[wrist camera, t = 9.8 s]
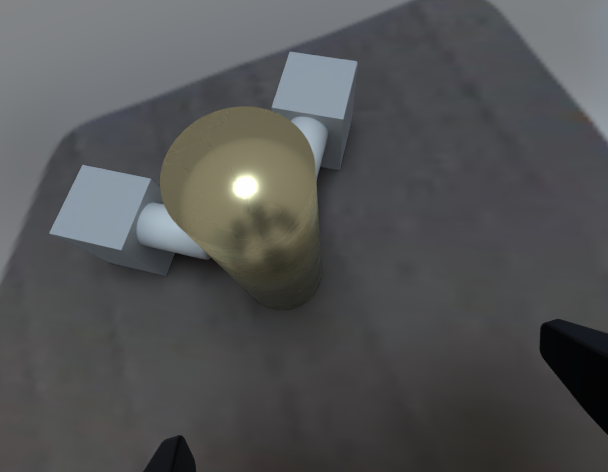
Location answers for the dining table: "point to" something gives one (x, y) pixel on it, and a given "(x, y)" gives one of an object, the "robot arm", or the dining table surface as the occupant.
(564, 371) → the robot arm
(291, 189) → the olive pillar candle
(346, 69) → the shaft on bearing block
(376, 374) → the dining table surface
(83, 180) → the shaft on bearing block
